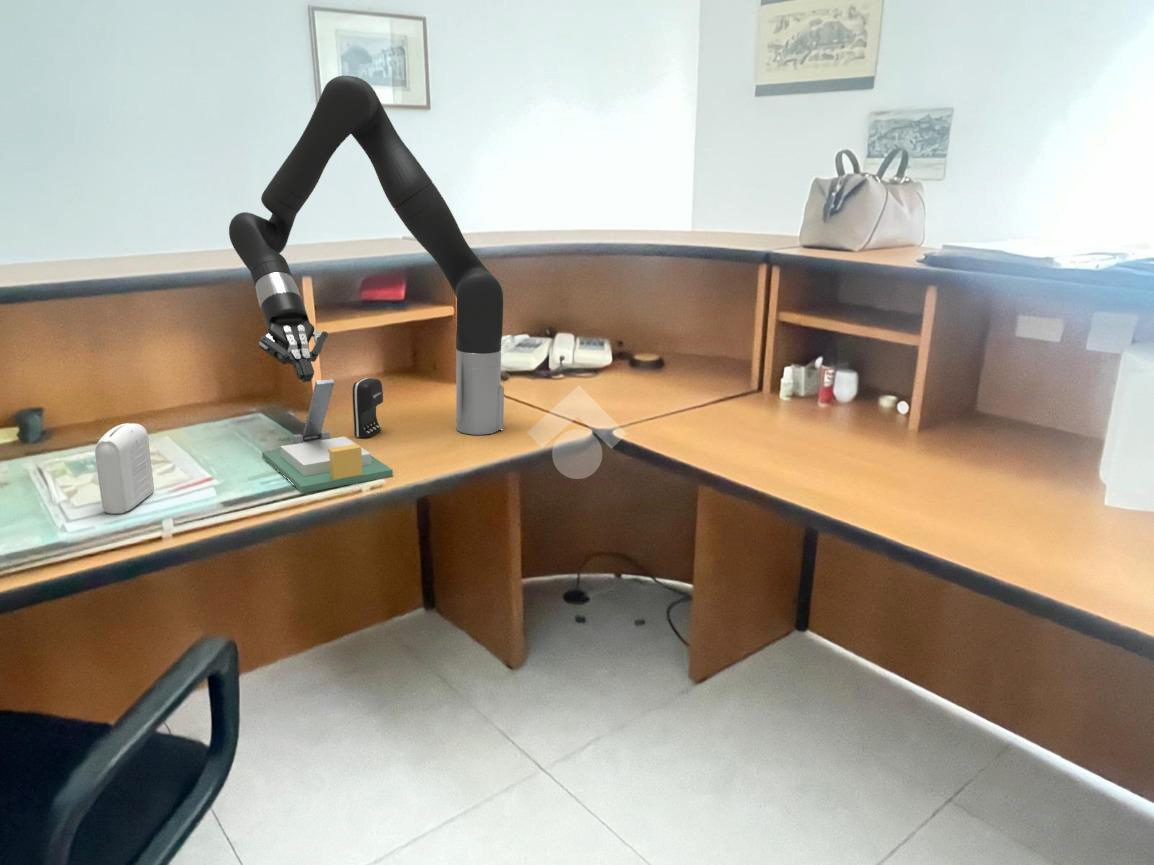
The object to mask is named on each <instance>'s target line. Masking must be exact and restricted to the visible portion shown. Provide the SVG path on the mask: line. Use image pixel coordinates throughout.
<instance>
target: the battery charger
mask: <svg viewBox="0 0 1154 865" xmlns="http://www.w3.org/2000/svg"><path fill="white" fill-rule="evenodd" d="M383 402H384V392H383V383H382V382H381V380H380V379H378V378H371V377H364V378H362V379H359V380H358V381H355V382H354V384H353V386H352V410H353V412H352V414H353V429H354V430H353V432H354V437H355V438H371V437H373V436H375V435H376V434H377V433H380V432H381V430H382V428H381V425H380V424H379V422H378V418H377V407H378V406H380V404H382V403H383Z"/></svg>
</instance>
